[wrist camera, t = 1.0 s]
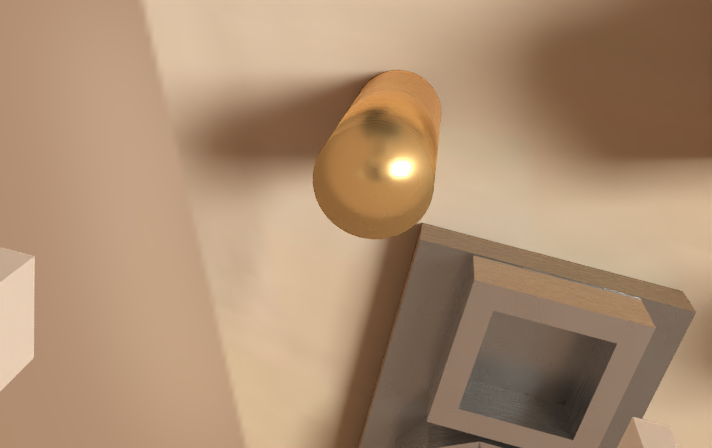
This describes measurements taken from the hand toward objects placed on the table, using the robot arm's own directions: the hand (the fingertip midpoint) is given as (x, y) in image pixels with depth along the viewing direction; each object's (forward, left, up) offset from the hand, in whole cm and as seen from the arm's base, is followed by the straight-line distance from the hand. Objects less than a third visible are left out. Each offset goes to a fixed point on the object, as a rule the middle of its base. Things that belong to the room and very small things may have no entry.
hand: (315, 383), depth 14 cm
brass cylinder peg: (-2, 0, -19) cm, 19 cm away
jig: (+12, +9, -19) cm, 24 cm away
